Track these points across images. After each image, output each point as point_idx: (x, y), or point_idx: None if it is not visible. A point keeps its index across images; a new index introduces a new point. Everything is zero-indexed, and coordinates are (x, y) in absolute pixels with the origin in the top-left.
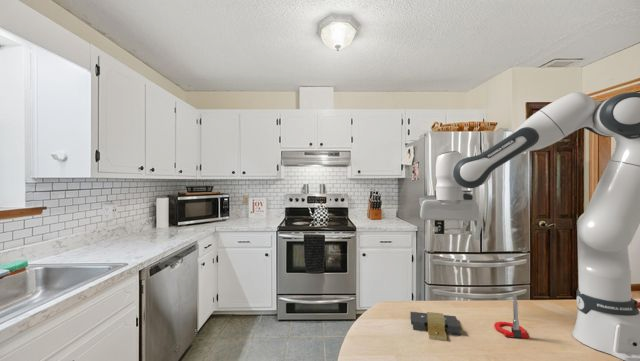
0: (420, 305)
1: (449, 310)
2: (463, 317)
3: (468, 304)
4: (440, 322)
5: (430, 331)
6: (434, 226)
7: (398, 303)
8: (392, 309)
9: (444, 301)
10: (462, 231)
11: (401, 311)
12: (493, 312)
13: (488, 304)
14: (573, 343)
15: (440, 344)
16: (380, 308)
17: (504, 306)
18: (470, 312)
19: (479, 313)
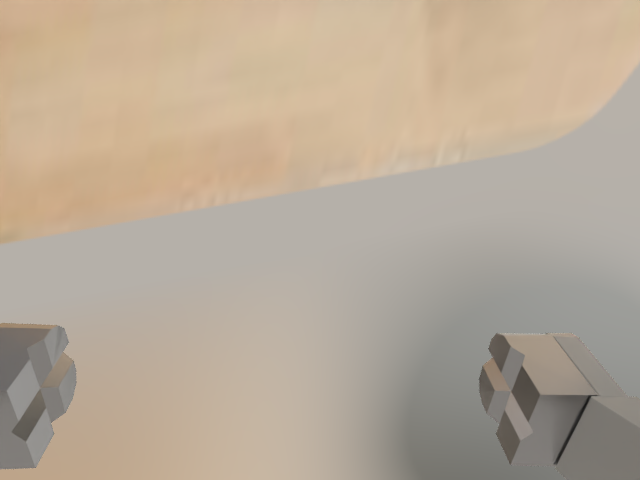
0: (421, 115)
1: (295, 82)
2: (242, 8)
3: (195, 168)
4: None
5: None
6: (630, 413)
7: (521, 120)
8: (571, 41)
9: (299, 182)
10: (21, 337)
11: (533, 25)
12: (92, 97)
13: (105, 184)
14: None
15: None
16: (628, 43)
17: (36, 175)
18: (199, 77)
19: (159, 73)
